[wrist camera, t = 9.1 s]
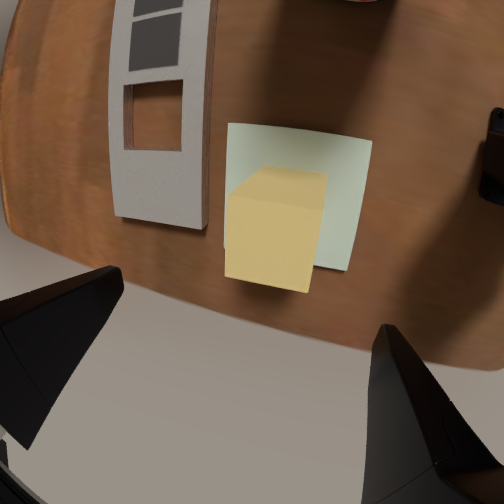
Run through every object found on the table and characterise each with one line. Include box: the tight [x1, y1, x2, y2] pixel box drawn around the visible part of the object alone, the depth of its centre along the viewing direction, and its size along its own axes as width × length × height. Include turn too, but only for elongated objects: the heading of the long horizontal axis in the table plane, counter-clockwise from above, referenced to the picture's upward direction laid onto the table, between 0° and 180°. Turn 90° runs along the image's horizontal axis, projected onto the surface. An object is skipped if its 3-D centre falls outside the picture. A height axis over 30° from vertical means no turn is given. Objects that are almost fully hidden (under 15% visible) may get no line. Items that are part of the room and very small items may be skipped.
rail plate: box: [108, 0, 218, 230], centre depth 18 cm, size 8×20×1 cm, turn 176°
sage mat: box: [224, 123, 372, 271], centre depth 19 cm, size 9×9×1 cm
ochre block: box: [225, 165, 328, 293], centre depth 16 cm, size 4×4×7 cm
